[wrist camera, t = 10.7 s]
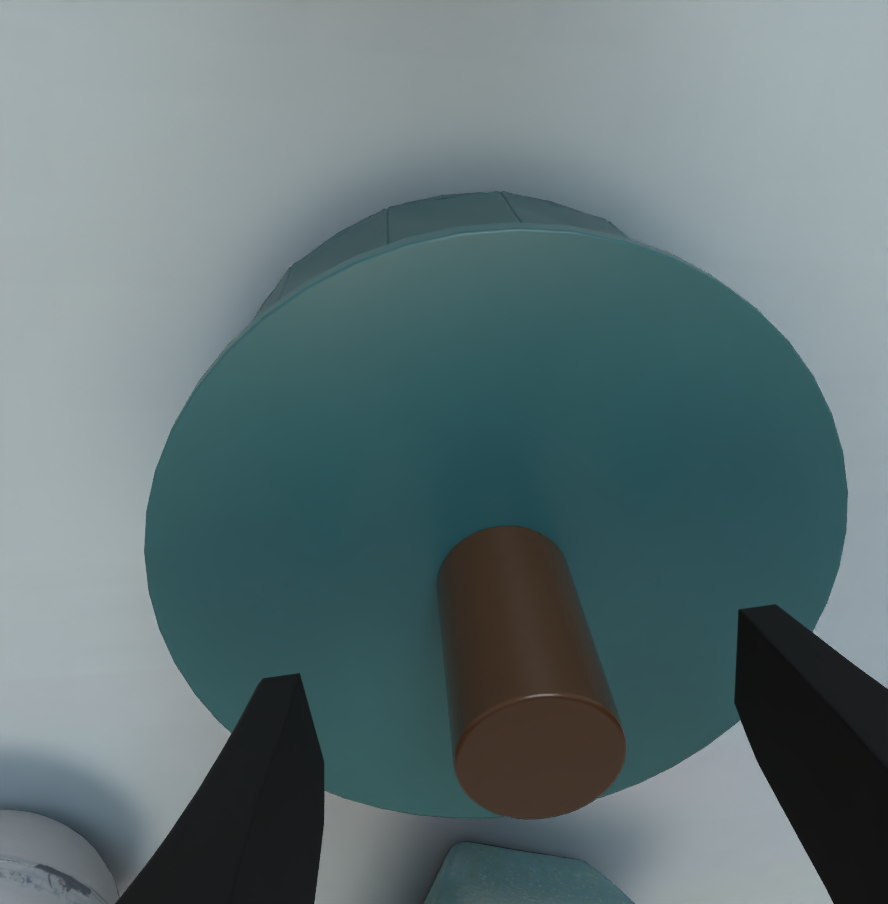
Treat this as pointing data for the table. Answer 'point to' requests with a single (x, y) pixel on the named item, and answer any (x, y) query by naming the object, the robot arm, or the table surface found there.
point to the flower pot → (518, 879)
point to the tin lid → (495, 515)
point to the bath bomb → (49, 863)
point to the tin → (430, 228)
